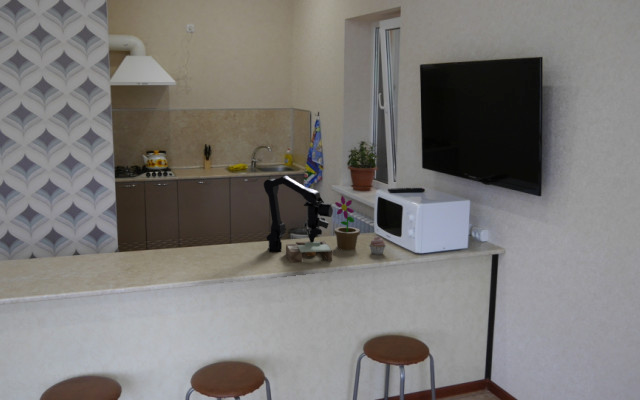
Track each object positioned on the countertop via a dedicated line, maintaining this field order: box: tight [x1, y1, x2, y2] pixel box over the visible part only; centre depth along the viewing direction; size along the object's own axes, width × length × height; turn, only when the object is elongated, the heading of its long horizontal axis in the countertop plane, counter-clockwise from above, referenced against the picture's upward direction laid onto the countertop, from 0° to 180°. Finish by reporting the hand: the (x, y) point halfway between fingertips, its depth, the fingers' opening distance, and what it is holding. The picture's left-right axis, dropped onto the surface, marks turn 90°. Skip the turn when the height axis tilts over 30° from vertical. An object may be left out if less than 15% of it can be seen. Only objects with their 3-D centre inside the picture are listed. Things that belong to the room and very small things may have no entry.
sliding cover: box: [297, 241, 332, 253], centre depth 305 cm, size 16×10×2 cm, turn 103°
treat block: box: [305, 252, 316, 257], centre depth 314 cm, size 4×4×5 cm
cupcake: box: [368, 235, 387, 256], centre depth 320 cm, size 9×9×10 cm
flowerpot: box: [333, 195, 361, 251], centre depth 327 cm, size 14×14×30 cm
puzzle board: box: [285, 240, 333, 263], centre depth 311 cm, size 22×18×6 cm
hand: (311, 243), depth 310 cm, fingers closed
